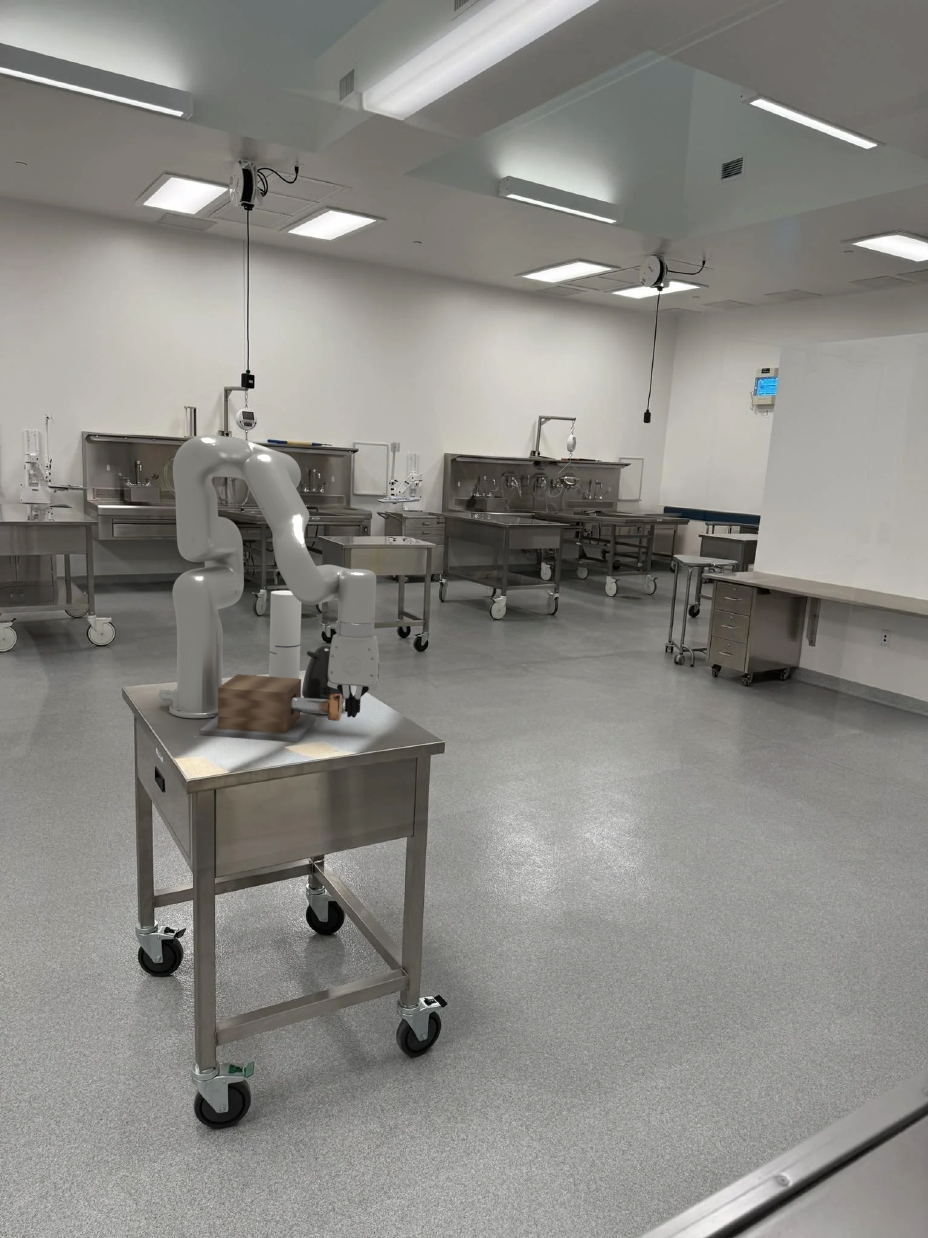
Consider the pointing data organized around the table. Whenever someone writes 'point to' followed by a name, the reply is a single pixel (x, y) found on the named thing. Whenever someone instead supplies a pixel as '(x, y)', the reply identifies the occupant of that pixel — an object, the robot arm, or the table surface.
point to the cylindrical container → (284, 635)
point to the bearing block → (259, 709)
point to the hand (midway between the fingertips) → (352, 715)
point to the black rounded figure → (318, 675)
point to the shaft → (319, 706)
